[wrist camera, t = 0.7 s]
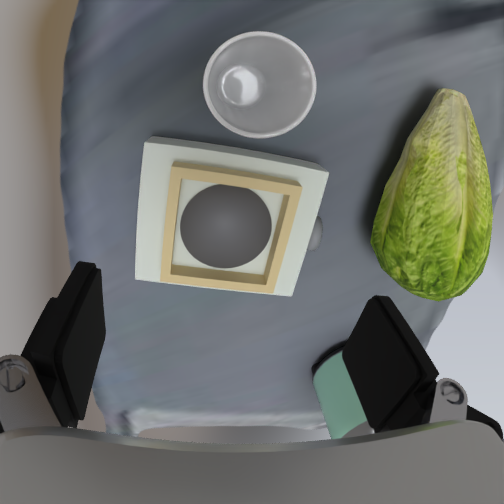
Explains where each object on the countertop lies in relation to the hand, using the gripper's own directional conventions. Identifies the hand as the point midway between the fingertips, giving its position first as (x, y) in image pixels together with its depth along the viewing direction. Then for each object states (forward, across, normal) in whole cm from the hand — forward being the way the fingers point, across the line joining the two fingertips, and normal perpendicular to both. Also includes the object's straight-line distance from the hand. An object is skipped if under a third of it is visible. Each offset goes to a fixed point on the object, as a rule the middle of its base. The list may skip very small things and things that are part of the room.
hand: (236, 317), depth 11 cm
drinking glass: (+26, -1, -7) cm, 27 cm away
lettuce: (+26, -25, -2) cm, 36 cm away
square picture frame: (+26, -2, +7) cm, 26 cm away
